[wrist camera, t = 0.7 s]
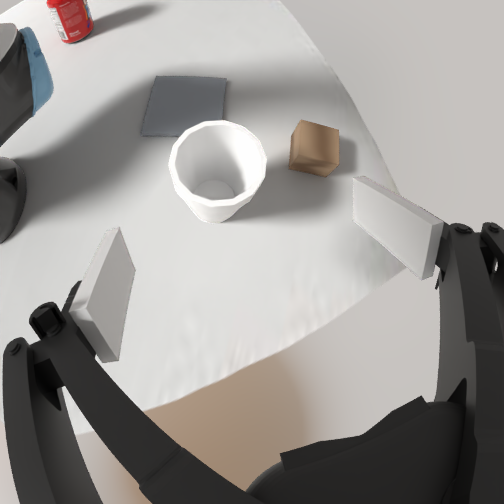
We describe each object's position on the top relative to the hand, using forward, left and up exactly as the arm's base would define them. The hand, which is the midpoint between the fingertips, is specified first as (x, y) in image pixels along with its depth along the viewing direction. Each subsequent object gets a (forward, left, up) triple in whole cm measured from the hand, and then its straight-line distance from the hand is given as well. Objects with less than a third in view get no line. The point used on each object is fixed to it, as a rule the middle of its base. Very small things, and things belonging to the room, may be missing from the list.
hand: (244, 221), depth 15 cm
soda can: (-50, +32, -24) cm, 64 cm away
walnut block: (+6, +20, -24) cm, 32 cm away
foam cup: (-4, +7, -24) cm, 25 cm away
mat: (-15, +20, -23) cm, 35 cm away
